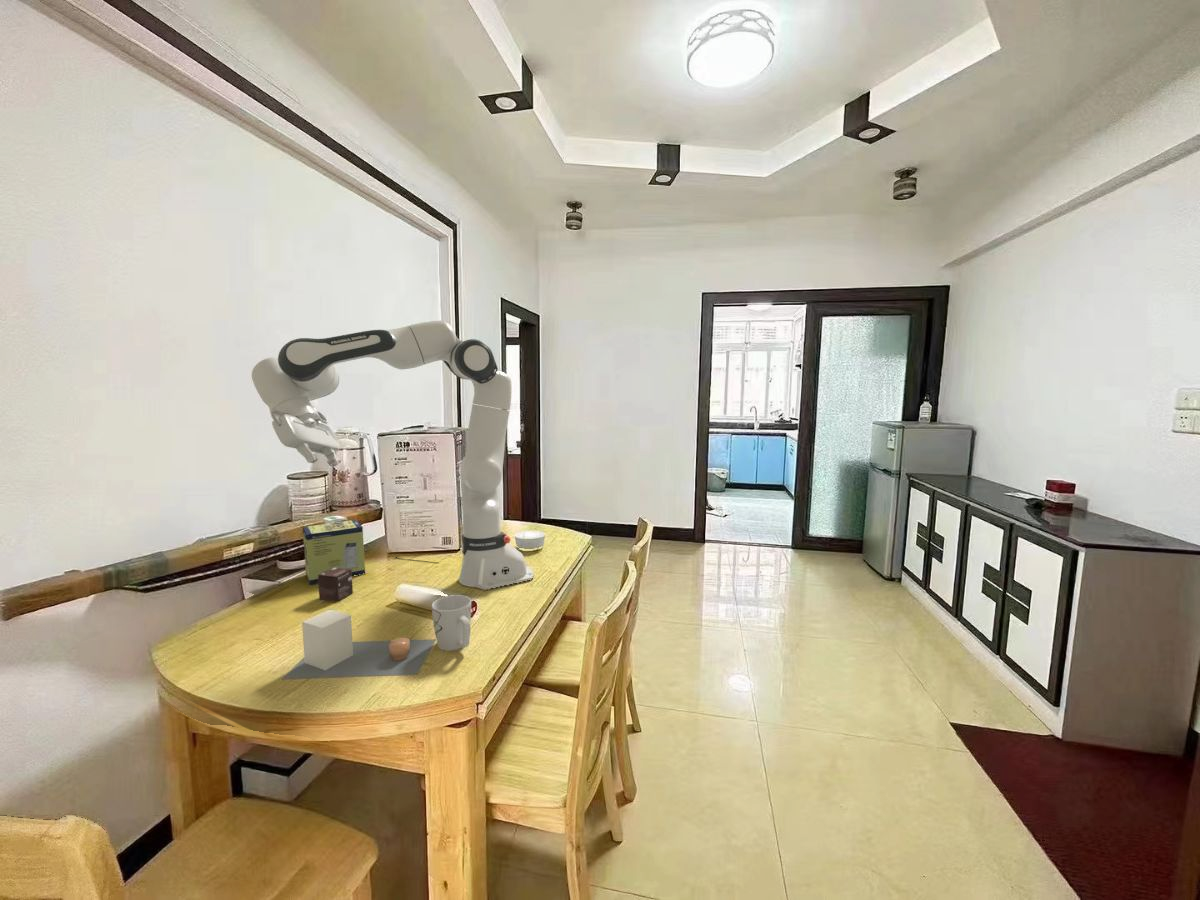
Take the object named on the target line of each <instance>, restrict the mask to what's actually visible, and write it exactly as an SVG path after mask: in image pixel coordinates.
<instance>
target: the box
mask: <svg viewBox="0 0 1200 900" xmlns="http://www.w3.org/2000/svg"><path fill="white" fill-rule="evenodd" d="M317 584H318V597H319V600H320V601H325V602H327V601H328V602H340V601H343V599H344V600H345V599H346V598H348V597H349V596H351V595H352V594H354V589H353V577H352V573H351V569H345V568H332V569H330V570H327V571H325V572H323V573H321V574H319V575H318V583H317ZM347 596H348V597H347Z"/></svg>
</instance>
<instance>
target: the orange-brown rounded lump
mask: <svg viewBox="0 0 1200 900" xmlns="http://www.w3.org/2000/svg"><path fill="white" fill-rule="evenodd" d="M409 640H410V639H409V638H408V637H397V638H395V639H392V640H390V641H391V642H390V643H389V651H390V657H392V659H393V660H396V661H399V660H403V659H405V658H407V657H408V654H409V653H410V641H409Z"/></svg>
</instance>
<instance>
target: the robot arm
mask: <svg viewBox="0 0 1200 900" xmlns="http://www.w3.org/2000/svg"><path fill="white" fill-rule="evenodd" d="M363 358H364V359H365V358H366V359H367V358H372V359H377V360H380V361H382V362H384V363H386V364H388V365H389V366H391V367H392V368H395V369H398V370H409V369H415V368H418V367H421V366H422V367H423V366H424V365H425V366H426V365H427V364H431V363H434V362H437V361H443V363H444V364H445V365H446V366H447V367H448V369H449V370H450V372H451V373H452V374H453V375H455V376H456V377H457V378H459V379H462V380H469V381H471V383H472V385H473V390H474V391H473V399H472V404H471V410H470V416H469V421H468V422H469V423H468V427H467V439H466V448H465V456H464V457H463V458H462V460H461V462H460V466H459V473H460V489H461V491H460V492H461V493H460V494H461V507H462V510H461V511H462V534H461V541H460V543H461V544H460V545H461V546H460V547H461V549H462V551H461V552H462V561H461V569H460V574H459V577H458V582H459V584H461V585H463V586H466V587H469V588H478V589H480V590H484V591H486V590H487V589H488V590H492V589H491V588H493V589H497V588H496V587H498V588H501V587H500V586H502V587H505V586H504V585H507V586H509V585H508V584H512V585H514V584H513V583H517V582H521V581H526V580H530V579H532V578H533V579H534V577H533V574H534V570H533V569H532V567H530V566H529V565H528V564H527V562H526V559H525V557H524V555H523V553H522V551H520V550H519V549H517V548H515V547H514V546H512V545H511V544H510V542H511V537H510V536H509V535H508V534H507V533H506V532H504V531H501V506H500V498H499V487H498V486H499V485H500V483H501V481H502V476H503V469H504V459H505V458H504V457H505V450H506V448H505V446H506V435H507V429H508V422H509V417H510V410H511V405H512V380H511V378H510V376H509V375H508V374H506V372H504V371H501V370H499V369H498V365H497V362H496V360H495V355H494V353H493V351H492V348H491V347H489V344H487V343H485V342H484V341H482V340H480V339H474V338H471V339H466V340H462V339H459V338H458V336H457V335H456V332H455V330H454V328H453V327H452V326H451V325H450V323H448V322H447V321H444V320H432V321H431V320H430V321H424V322H418V323H414V324H413V323H412V324H410V325H406V326H403V327H398V328H392V329H372V330H371V329H370V330H363V331H359V332H355V333H347V334H342V335H337V336H331V337H324V338H310V337H309V338H307V337H302V338H301V337H300V338H295V339H292V340H290V341H288V342H287V343H285V344H284V345H283V346H282V347H281V349H280V351H279V352H278V357H275V356H274V357H267V358H264V359H262V360H260V361H259V362H258V363H256V364H255V366H254V367H253V369H252V370H251V380H252V383H253V385H254V387H255V390H256V392H257V393H258V395H259V397H260V399H261V400H262V402H263V403H264V404H265V405H266V406H267V407H268V409H269V413H270V416H271V418H272V422H271V425H272V428H273V430H274V432H275V434H276V436H277V439H278V440H279V441H280V443H281V444H282V445H283V446H284V447H287V448H290V449H291V448H292V449H296V451H297V452H298V453H299V454H300V455H301V456H302V457H304V459H305V460H306V462H307V463H308V464H315V463H316V462H317V461H319V460H318V459H319V458H318V457H317V455H316V454H320V455H324V457H326V459H327V461H326V462H327V464H328V466H329V467H337V466H338V465H339V460H338V459H337V455H336V453H337V452H338V451H339V450H341V445H340V442H339V440H338V438H337V437H336V435H335V433H334V431H333V430H332V428H331V427H330V425H329V420H328V418H327V416H325V415H324V414H322V413H321V412H319V411H318V409H316V408H315V406H314V405H312V404H311V401H313V400H317V399H321V398H323V397H327V396H329V395H331V394H333V393H334V392H335V391H336V389H337V388H338V387H339V383H340V377H339V373H338V372H337V370H336V368H335V367H334V365H336V364H341V363H346V362H349V361H355V360H360V359H363ZM315 453H316V454H315ZM533 579H532V580H533ZM530 581H531V580H530ZM526 582H527V581H526ZM521 583H522V582H521ZM517 584H518V583H517Z"/></svg>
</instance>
